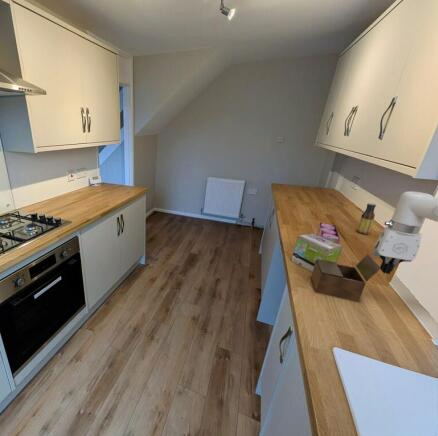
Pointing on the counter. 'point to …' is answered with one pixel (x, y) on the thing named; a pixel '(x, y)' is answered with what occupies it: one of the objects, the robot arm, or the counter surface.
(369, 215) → the sauce bottle
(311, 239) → the tea box
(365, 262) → the flap
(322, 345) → the counter surface
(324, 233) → the gum box
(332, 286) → the carton
